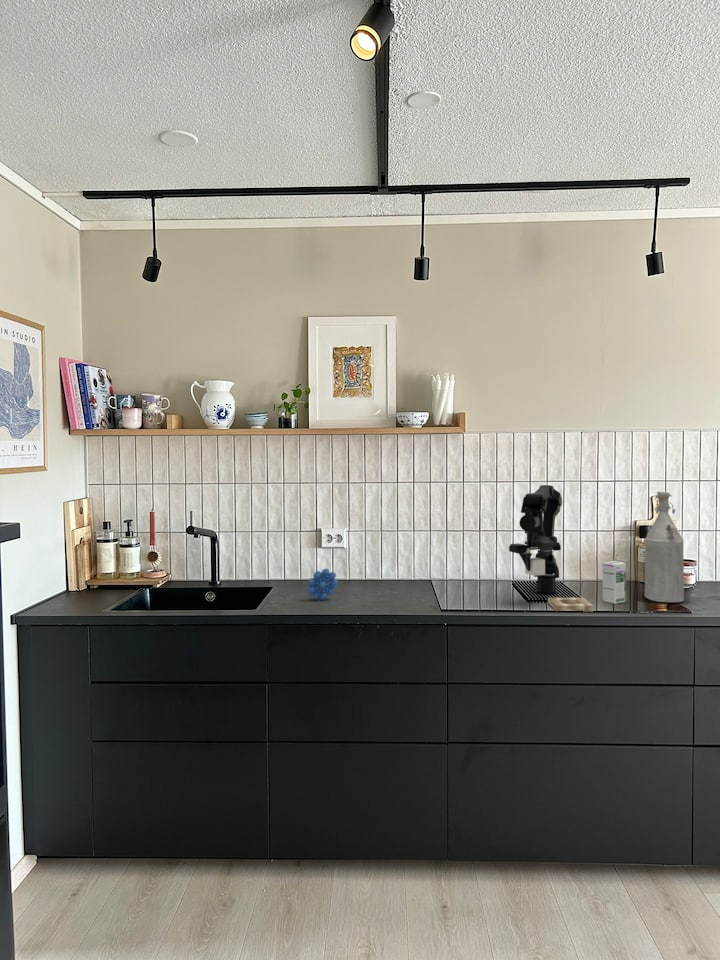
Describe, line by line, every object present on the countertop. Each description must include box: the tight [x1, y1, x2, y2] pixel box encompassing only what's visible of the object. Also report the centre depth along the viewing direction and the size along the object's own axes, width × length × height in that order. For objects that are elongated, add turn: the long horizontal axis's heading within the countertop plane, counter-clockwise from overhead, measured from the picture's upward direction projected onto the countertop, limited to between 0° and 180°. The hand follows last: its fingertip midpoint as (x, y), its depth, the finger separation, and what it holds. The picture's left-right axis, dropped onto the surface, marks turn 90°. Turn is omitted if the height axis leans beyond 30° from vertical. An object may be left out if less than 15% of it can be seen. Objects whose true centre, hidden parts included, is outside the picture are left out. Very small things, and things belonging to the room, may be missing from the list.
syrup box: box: [601, 560, 627, 605], centre depth 230 cm, size 6×6×14 cm
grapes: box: [307, 568, 339, 601], centre depth 241 cm, size 12×7×12 cm, turn 96°
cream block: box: [524, 557, 545, 577], centre depth 231 cm, size 5×5×6 cm
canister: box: [644, 491, 685, 603], centre depth 232 cm, size 13×17×40 cm
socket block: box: [547, 597, 595, 613], centre depth 222 cm, size 12×12×2 cm
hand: (535, 570), depth 231 cm, fingers closed on cream block, 5 cm apart
